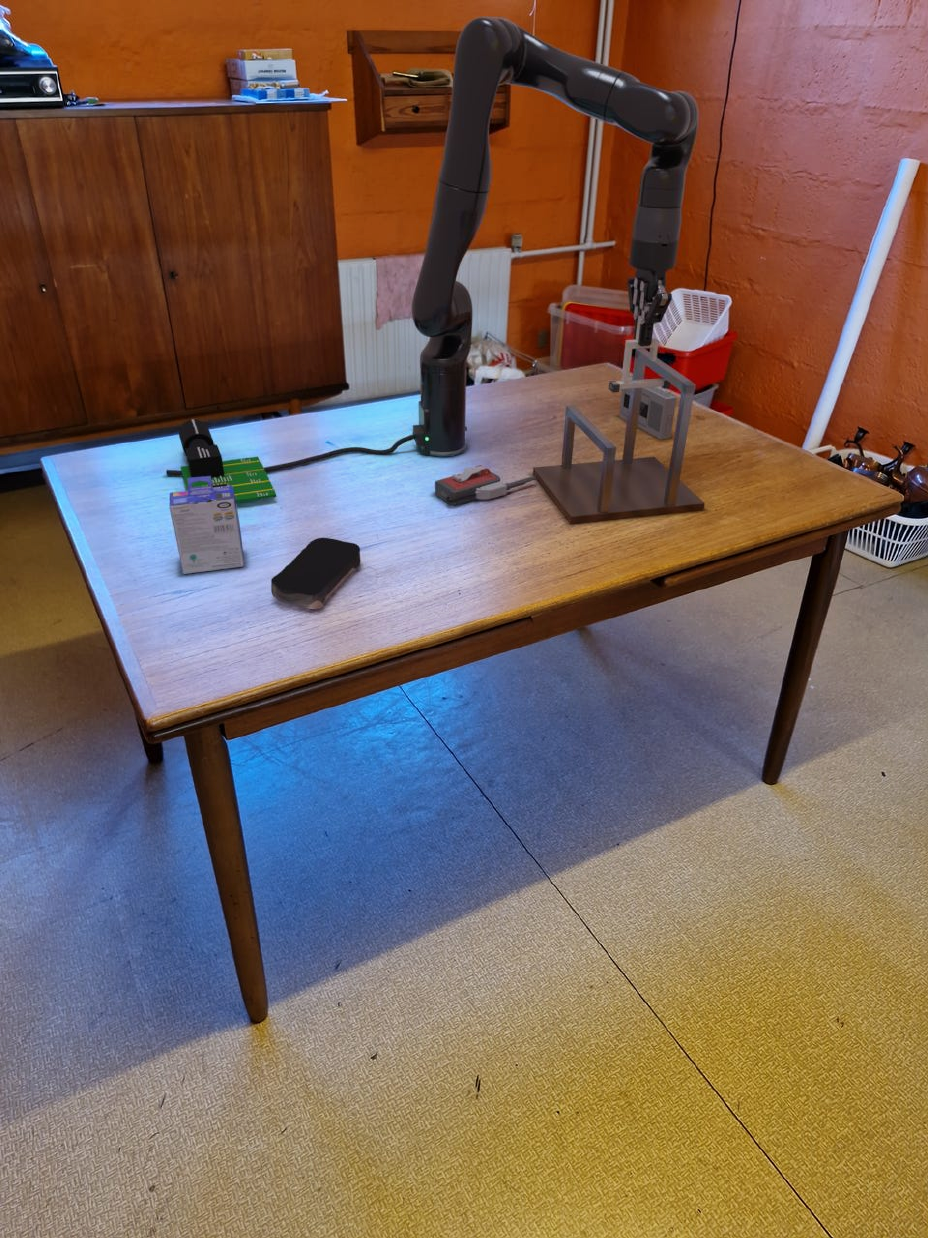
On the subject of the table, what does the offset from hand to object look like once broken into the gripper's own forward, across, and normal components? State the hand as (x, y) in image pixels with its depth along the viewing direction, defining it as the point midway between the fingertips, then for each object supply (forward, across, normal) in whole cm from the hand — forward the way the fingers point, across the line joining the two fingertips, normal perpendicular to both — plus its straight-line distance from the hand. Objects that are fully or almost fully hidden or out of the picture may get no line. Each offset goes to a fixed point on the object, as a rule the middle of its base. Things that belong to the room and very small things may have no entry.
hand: (642, 343), depth 147 cm
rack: (+28, 0, -2) cm, 28 cm away
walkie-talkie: (+28, -6, -26) cm, 39 cm away
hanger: (+8, 0, +1) cm, 8 cm away
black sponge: (+28, +22, -60) cm, 70 cm away
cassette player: (+28, -31, +18) cm, 45 cm away
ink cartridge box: (+28, +12, -76) cm, 82 cm away
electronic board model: (+28, -22, -74) cm, 82 cm away
